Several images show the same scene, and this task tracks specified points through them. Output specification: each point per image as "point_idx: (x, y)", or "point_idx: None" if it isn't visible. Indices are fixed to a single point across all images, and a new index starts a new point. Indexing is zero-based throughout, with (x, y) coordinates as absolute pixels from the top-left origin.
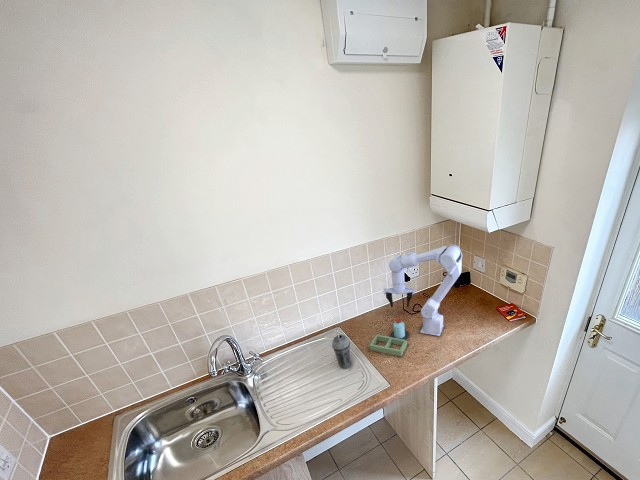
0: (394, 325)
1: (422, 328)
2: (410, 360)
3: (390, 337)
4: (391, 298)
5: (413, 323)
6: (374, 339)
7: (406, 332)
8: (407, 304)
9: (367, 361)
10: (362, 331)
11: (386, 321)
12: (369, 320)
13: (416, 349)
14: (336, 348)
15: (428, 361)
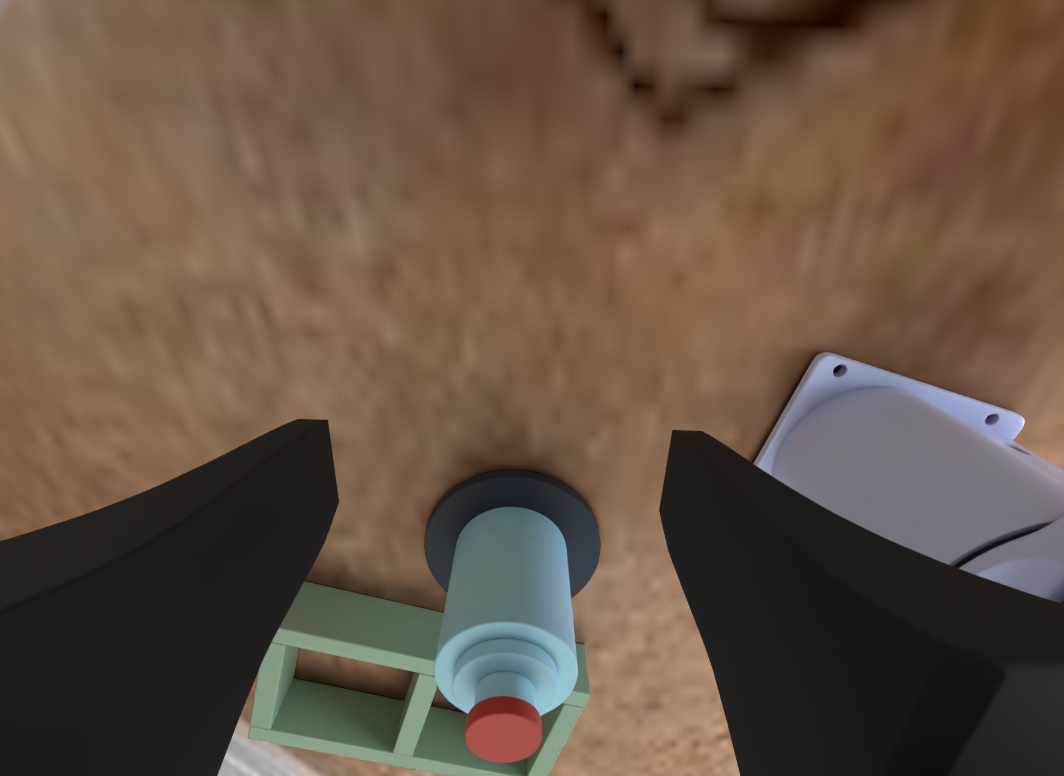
0: (449, 692)
1: (767, 463)
2: (605, 764)
3: (425, 663)
4: (198, 740)
5: (672, 344)
6: (270, 683)
7: (582, 519)
8: (693, 588)
9: (295, 769)
10: (87, 471)
11: (313, 291)
12: (65, 261)
13: (660, 683)
14: None
15: (731, 770)
